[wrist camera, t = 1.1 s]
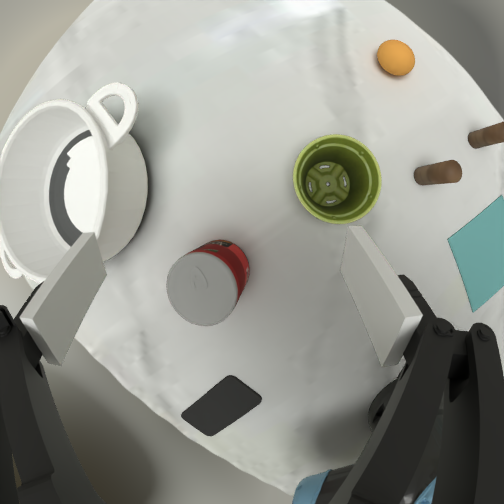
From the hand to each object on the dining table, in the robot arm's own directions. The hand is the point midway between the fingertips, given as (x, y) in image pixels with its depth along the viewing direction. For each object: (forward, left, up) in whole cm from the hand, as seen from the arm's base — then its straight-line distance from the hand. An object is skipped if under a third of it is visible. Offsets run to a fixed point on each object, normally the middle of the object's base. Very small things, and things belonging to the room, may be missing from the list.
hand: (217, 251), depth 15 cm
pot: (+18, +19, -25) cm, 36 cm away
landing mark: (-24, -29, -25) cm, 45 cm away
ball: (+9, -29, -22) cm, 38 cm away
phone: (-23, +23, -25) cm, 41 cm away
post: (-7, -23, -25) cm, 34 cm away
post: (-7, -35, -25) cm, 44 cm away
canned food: (-3, +8, -25) cm, 26 cm away
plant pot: (-1, -10, -25) cm, 27 cm away
